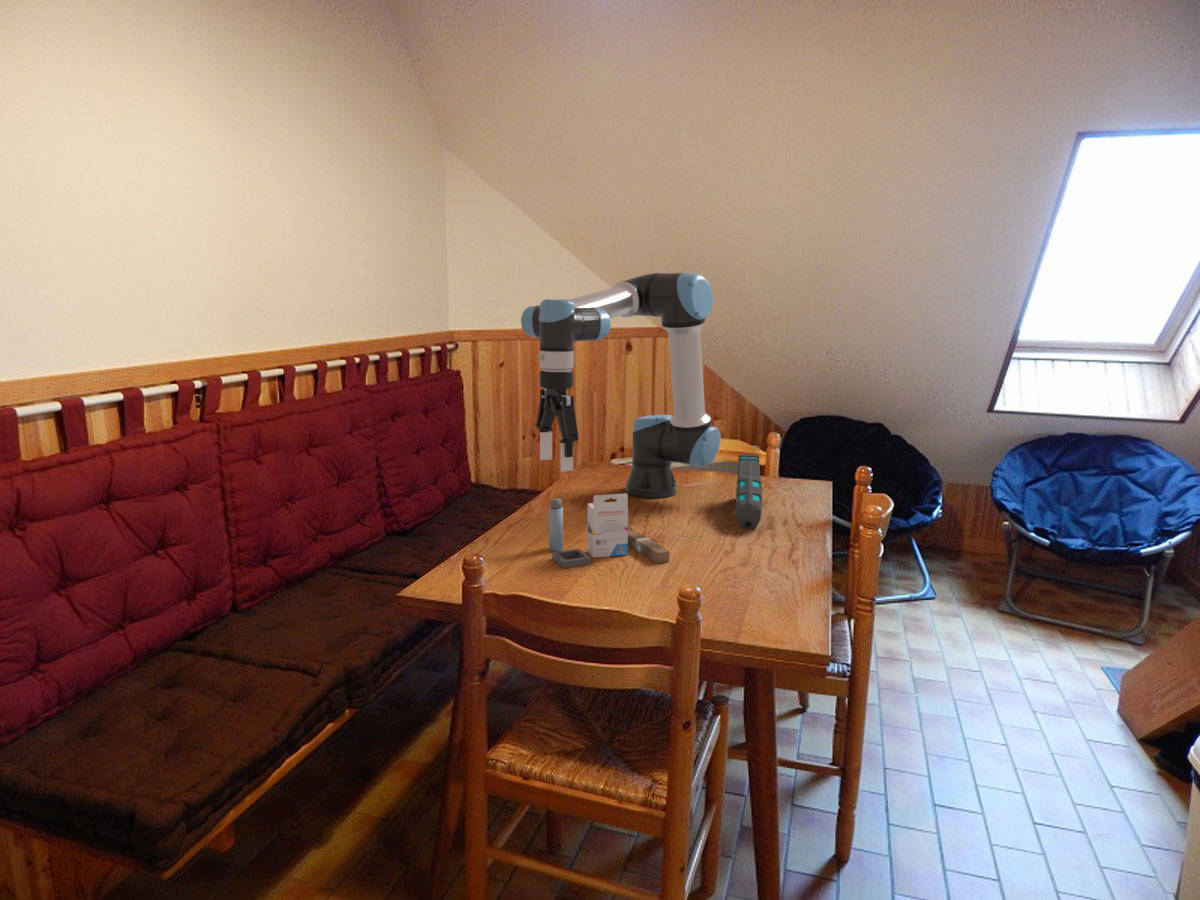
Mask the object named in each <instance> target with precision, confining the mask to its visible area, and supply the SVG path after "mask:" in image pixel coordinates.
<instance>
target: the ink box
mask: <svg viewBox="0 0 1200 900" xmlns="http://www.w3.org/2000/svg"><path fill="white" fill-rule="evenodd" d="M628 495H629V494H628V493H627V492H626V493H625V492H624V493H614V494H613V493H611V494H598V495H596V494H595V495H594V496H593V499H592V500H593V502H592V503H590V502H589V503H587V533H586V534H587V535H586V536H587V542H586V543H587V549H586V550H587V553H588V554H589V555H590V557H591V558H592V559H595V558H607V557H619V556H627V555H628V544H627V543H628V527H629V506H628V505H629V504H628V500H629V496H628ZM610 499H612V500H616V501H609V502H608V500H610ZM606 500H607V501H606ZM605 501H606V502H605Z"/></svg>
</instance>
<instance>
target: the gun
mask: <svg viewBox="0 0 1200 900" xmlns="http://www.w3.org/2000/svg"><path fill="white" fill-rule="evenodd" d="M737 463H738V465H737V470H738V471H737V480H736V491H735V493H736V495H735V498H736V499H735V514H736V519H737V521H738V524H739V527H740V528H741V529H748V530H755V529H757V527H758V525H759V523H760V521H761V518H762V513H763V488H762V487H763V484H762V483H763V482H762V480H761V474H760V473H761V472H760V471H761V469H760V468H761V466H760V465H761V464H760V455H759V454H742V453H741V454H740V453H739V454H738V461H737Z"/></svg>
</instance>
